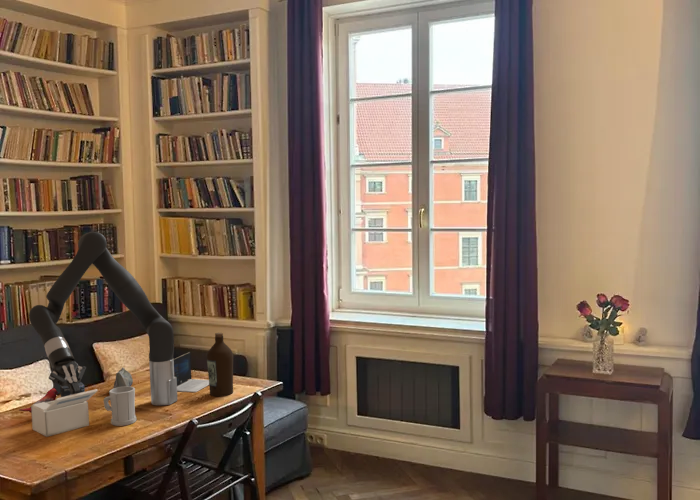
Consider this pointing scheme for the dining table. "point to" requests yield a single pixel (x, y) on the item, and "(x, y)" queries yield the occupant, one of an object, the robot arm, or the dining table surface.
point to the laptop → (186, 375)
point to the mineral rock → (123, 379)
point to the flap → (72, 399)
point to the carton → (59, 418)
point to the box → (66, 391)
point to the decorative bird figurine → (45, 398)
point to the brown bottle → (220, 368)
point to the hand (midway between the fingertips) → (76, 393)
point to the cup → (121, 405)
